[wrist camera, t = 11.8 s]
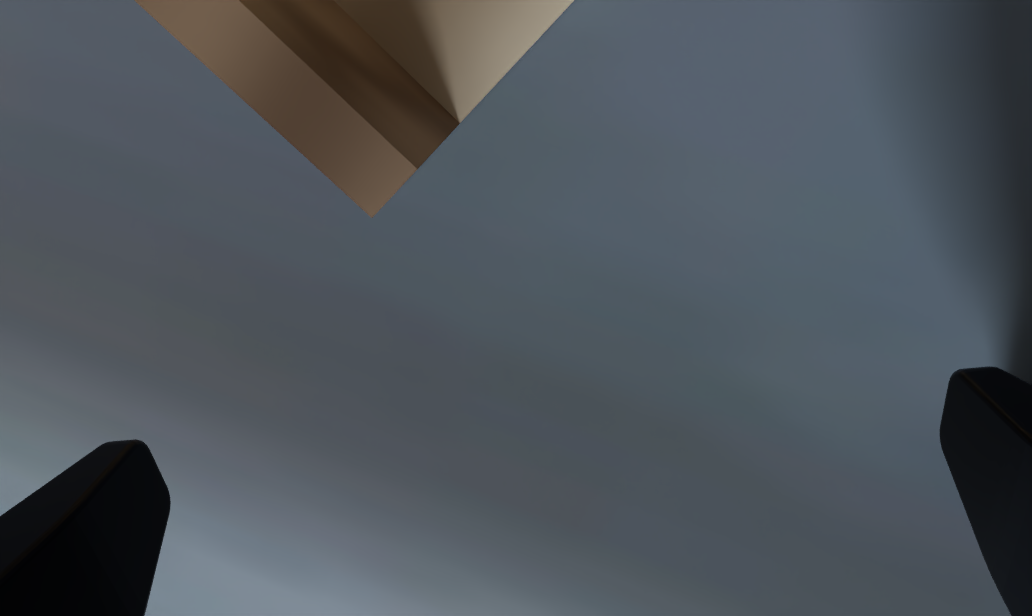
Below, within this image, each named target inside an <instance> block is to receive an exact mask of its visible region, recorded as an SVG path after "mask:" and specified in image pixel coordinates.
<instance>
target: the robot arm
mask: <svg viewBox="0 0 1032 616" xmlns="http://www.w3.org/2000/svg"><path fill="white" fill-rule="evenodd" d="M940 442H941V447H942V450H943V453H944V456H945V458H946V461H947V464H948V466H949V469H950V471H951V474H952V477H953V479H954V482H955V484H956V487H957V490H958V492H959V495H960V497H961V500H962V503H963V505H964V508H965V510H966V513H967V516H968V518H969V521H970V523H971V526H972V529H973V531H974V534H975V537H976V539H977V542H978V544H979V547H980V550H981V552H982V555H983V557H984V559H985V562H986V564H987V567H988V569H989V571H990V574H991V576H992V578H993V580H994V582H995V584H996V586H997V588H998V590H999V592H1000V594H1001V596H1002V598H1003V600H1004V602H1005V604H1006V606H1007V608H1008V610H1009V612H1010V614H1011V616H1032V385H1031V384H1029V383H1027V382H1025V381H1023V380H1021V379H1019V378H1017V377H1015V376H1013V375H1012V374H1010V373H1008V372H1006V371H1004V370H1002V369H999V368H997V367H978V368H967V369H959V370H957V371H955V372H954V373H953V374H952V376H951V377H950V380H949V384H948V389H947V394H946V399H945V404H944V409H943V414H942V420H941V425H940ZM169 512H170V495H169V491H168V488H167V486H166V483H165V481H164V479H163V477H162V475H161V473H160V471H159V469H158V466H157V464H156V462H155V460H154V458H153V456H152V454H151V452H150V450H149V448H148V446H147V445H146V444H145V443H144V442H142V441H140V440H124V441H112V442H107V443H104V444H102V445H101V446H99V447H98V448H96V449H95V450H93V451H92V452H91V453H89V454H88V455H86V456H85V457H83V458H82V459H81V460H79V461H78V462H76V463H75V464H74V465H72V466H71V467H69V468H68V469H66V470H65V471H64V472H62V473H61V474H59V475H58V476H57V477H55V478H54V479H52V480H51V481H49V482H48V483H47V484H45V485H44V486H42V487H41V488H40V489H38V490H37V491H35V492H34V493H32V494H31V495H30V496H28V497H27V498H25V499H24V500H23V501H21V502H20V503H18V504H17V505H15V506H14V507H13V508H11V509H10V510H8V511H7V512H6V513H4V514H3V515H1V516H0V616H144V615H145V612H146V607H147V603H148V599H149V595H150V591H151V587H152V583H153V579H154V575H155V570H156V566H157V562H158V558H159V554H160V550H161V546H162V542H163V537H164V533H165V529H166V525H167V521H168V517H169Z"/></svg>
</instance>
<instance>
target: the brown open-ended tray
mask: <svg viewBox="0 0 1032 616" xmlns="http://www.w3.org/2000/svg"><path fill="white" fill-rule="evenodd" d="M135 1H136V2H137V3H138V4H139V5H140V6H141V7H142V8H143V9H144V10H146V11H147V12H148V13H149V14H150V15H151V16H152V17H153V18H154V19H155V20H156V21H158V22H159V23H160V24H161V25H162V26H163V27H164V28H165V29H166V30H167V31H168V32H170V33H171V34H172V35H173V36H174V37H175V38H176V39H177V40H178V41H179V42H180V43H182V44H183V45H184V46H185V47H186V48H187V49H188V50H189V51H190V52H191V53H192V54H194V55H195V56H196V57H197V58H198V59H199V60H200V61H201V62H202V63H203V64H204V65H206V66H207V67H208V68H209V69H210V70H211V71H212V72H213V73H214V74H215V75H216V76H218V77H219V78H220V79H221V80H222V81H223V82H224V83H225V84H226V85H227V86H228V87H230V88H231V89H232V90H233V91H234V92H235V93H236V94H237V95H238V96H239V97H240V98H242V99H243V100H244V101H245V102H246V103H247V104H248V105H249V106H250V107H251V108H252V109H254V110H255V111H256V112H257V113H258V114H259V115H260V116H261V117H262V118H263V119H264V120H266V121H267V122H268V123H269V124H270V125H271V126H272V127H273V128H274V129H275V130H276V131H278V132H279V133H280V134H281V135H282V136H283V137H284V138H285V139H286V140H287V141H288V142H290V143H291V144H292V145H293V146H294V147H295V148H296V149H297V150H298V151H299V152H300V153H302V154H303V155H304V156H305V157H306V158H307V159H308V160H309V161H310V162H311V163H312V164H314V165H315V166H316V167H317V168H318V169H319V170H320V171H321V172H322V173H323V174H324V175H326V176H327V177H328V178H329V179H330V180H331V181H332V182H333V183H334V184H335V185H336V186H338V187H339V188H340V189H341V190H342V191H343V192H344V193H345V194H346V195H347V196H349V197H350V198H351V199H352V200H353V201H354V202H355V203H356V204H357V205H358V206H359V207H361V208H362V209H363V210H364V211H365V212H366V213H367V214H368V215H369V216H370V217H371V218H372V217H373V216H374V215H375V214H376V213H377V212H378V211H379V210H380V209H381V208H382V207H383V206H384V204H385V203H386V202H387V201H388V200H389V199H390V198H391V197H392V196H393V195H394V194H395V193H396V192H397V191H398V189H399V188H400V187H401V186H402V185H403V184H404V183H405V182H406V181H407V180H408V179H409V178H410V177H411V175H412V174H413V173H414V172H415V171H416V170H417V169H418V168H419V167H420V166H421V165H422V164H423V163H424V161H425V160H426V159H427V158H428V157H429V156H430V155H431V154H432V153H433V152H434V151H435V150H436V148H437V147H438V146H439V145H440V144H441V143H442V142H443V141H444V140H445V139H446V138H447V137H448V135H449V134H450V133H451V132H452V131H453V130H454V129H455V128H456V127H457V126H458V125H459V124H460V122H461V121H462V120H463V119H464V118H465V117H466V116H467V115H468V114H469V113H470V112H471V111H472V110H473V109H474V107H475V106H476V105H477V104H478V103H479V102H480V101H481V100H482V99H483V98H484V97H485V96H486V95H487V93H488V92H489V91H490V90H491V89H492V88H493V87H494V86H495V85H496V84H497V83H498V82H499V81H500V80H501V78H502V77H503V76H504V75H505V74H506V73H507V72H508V71H509V70H510V69H511V68H512V67H513V66H514V64H515V63H516V62H517V61H518V60H519V59H520V58H521V57H522V56H523V55H524V54H525V53H526V52H527V51H528V49H529V48H530V47H531V46H532V45H533V44H534V43H535V42H536V41H537V40H538V39H539V38H540V37H541V35H542V34H543V33H544V32H545V31H546V30H547V29H548V28H549V27H550V26H551V25H552V24H553V23H554V22H555V20H556V19H557V18H558V17H559V16H560V15H561V14H562V13H563V12H564V11H565V10H566V9H567V8H568V7H569V5H570V4H571V3H572V2H573V1H574V0H135Z"/></svg>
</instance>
